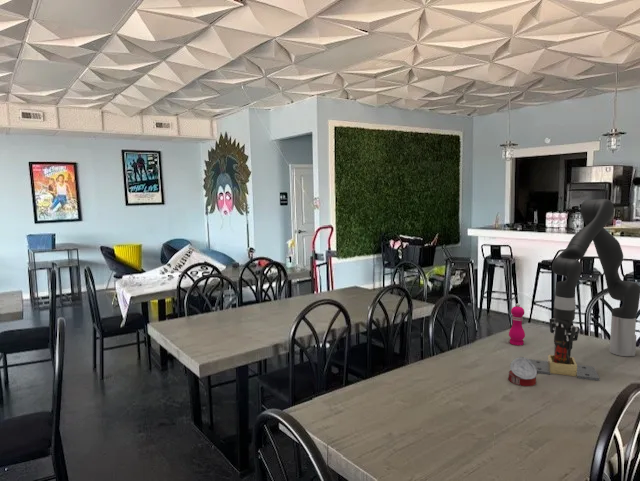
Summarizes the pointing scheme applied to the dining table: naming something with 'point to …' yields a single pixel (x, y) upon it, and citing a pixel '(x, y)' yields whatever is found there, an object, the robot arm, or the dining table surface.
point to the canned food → (522, 372)
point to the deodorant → (561, 346)
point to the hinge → (565, 368)
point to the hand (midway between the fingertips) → (562, 346)
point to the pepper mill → (517, 326)
